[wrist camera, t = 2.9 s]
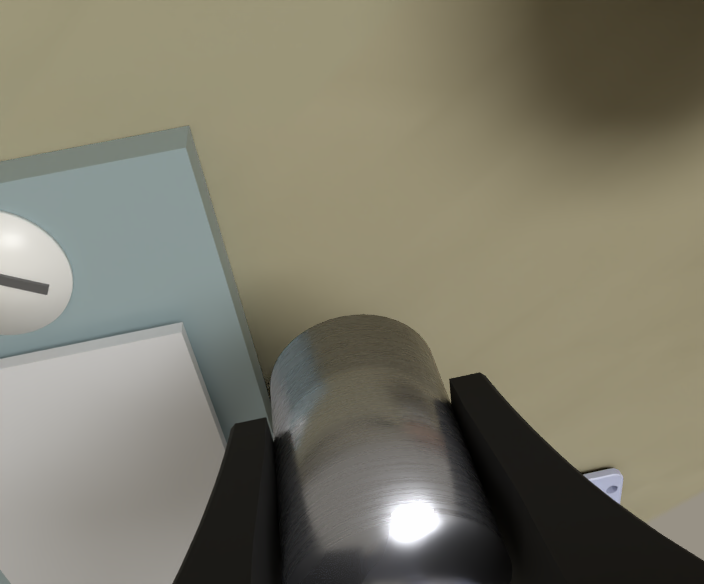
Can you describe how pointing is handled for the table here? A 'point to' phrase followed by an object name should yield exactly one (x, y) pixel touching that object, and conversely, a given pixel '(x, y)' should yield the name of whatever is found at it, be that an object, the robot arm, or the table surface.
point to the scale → (114, 360)
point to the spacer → (375, 464)
